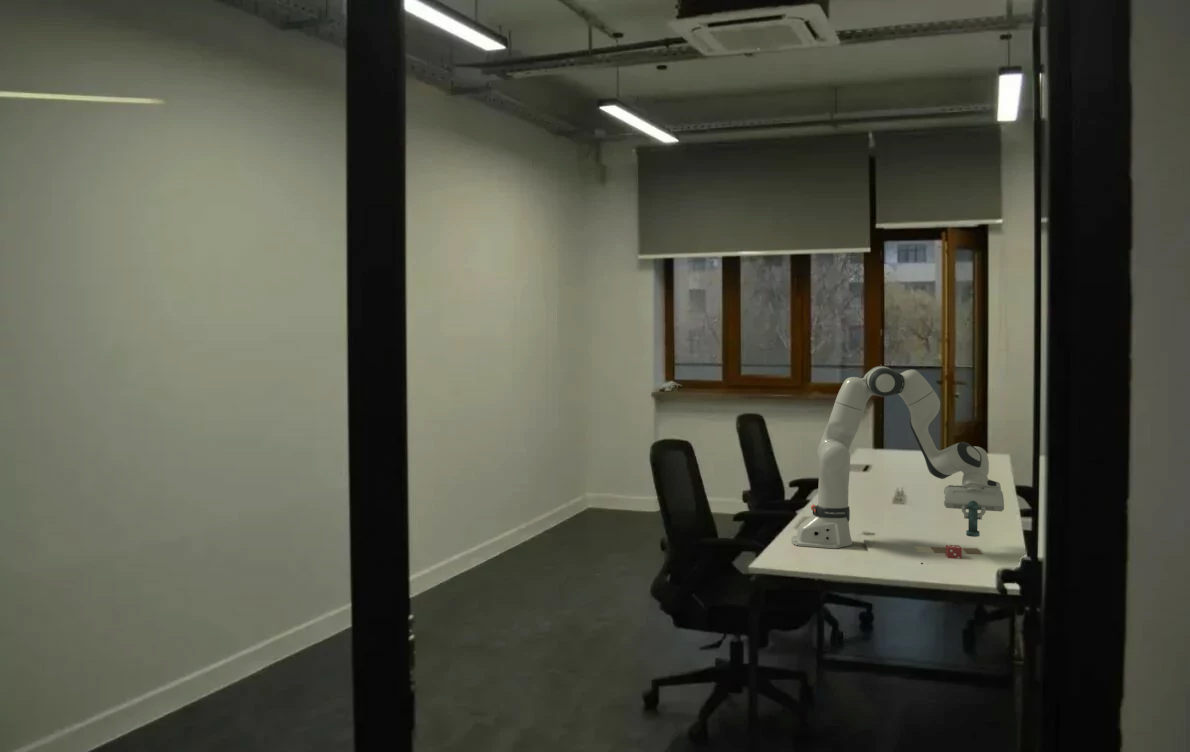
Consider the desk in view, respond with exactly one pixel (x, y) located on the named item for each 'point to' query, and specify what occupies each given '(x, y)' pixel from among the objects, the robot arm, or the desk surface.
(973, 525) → the pawn
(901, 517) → the desk surface
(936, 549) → the board
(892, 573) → the desk surface
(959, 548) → the die
